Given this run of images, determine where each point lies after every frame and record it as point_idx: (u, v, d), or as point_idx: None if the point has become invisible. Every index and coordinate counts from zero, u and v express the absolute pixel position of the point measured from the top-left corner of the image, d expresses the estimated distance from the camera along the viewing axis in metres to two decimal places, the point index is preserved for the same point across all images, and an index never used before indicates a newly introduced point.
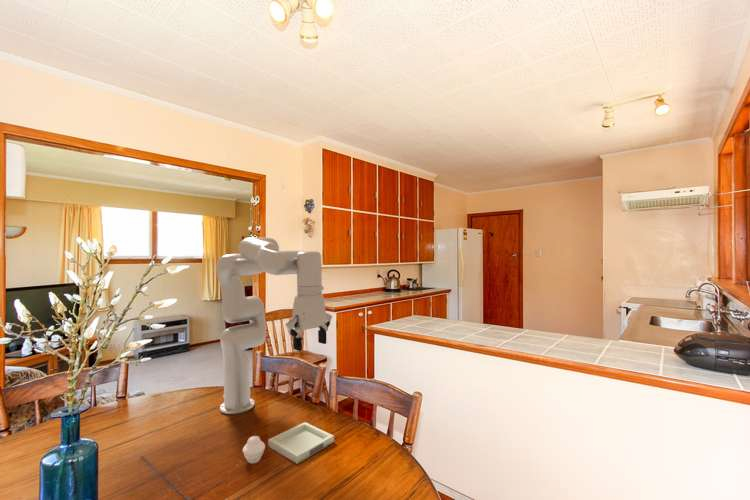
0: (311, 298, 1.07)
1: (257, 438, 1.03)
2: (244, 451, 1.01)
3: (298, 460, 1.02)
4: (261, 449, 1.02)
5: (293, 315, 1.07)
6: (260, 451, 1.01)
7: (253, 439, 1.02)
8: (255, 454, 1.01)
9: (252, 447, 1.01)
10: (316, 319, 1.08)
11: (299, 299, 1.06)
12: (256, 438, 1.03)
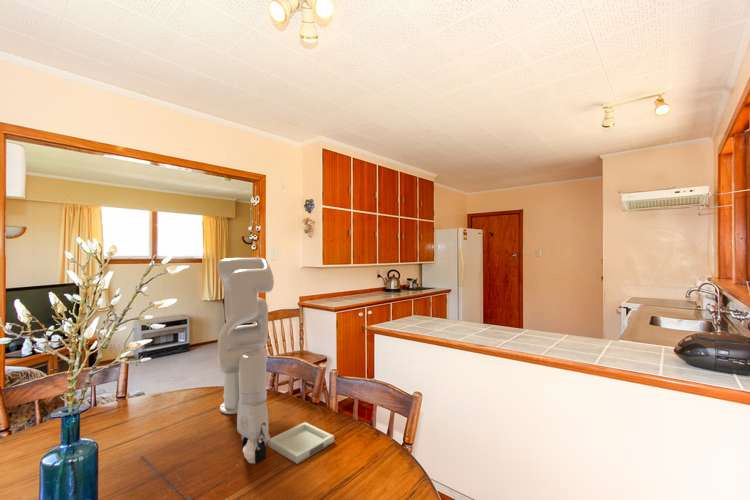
0: None
1: None
2: (244, 451, 1.01)
3: (298, 460, 1.02)
4: None
5: (257, 426, 0.99)
6: None
7: None
8: None
9: (252, 447, 1.01)
10: None
11: (263, 405, 1.01)
12: None
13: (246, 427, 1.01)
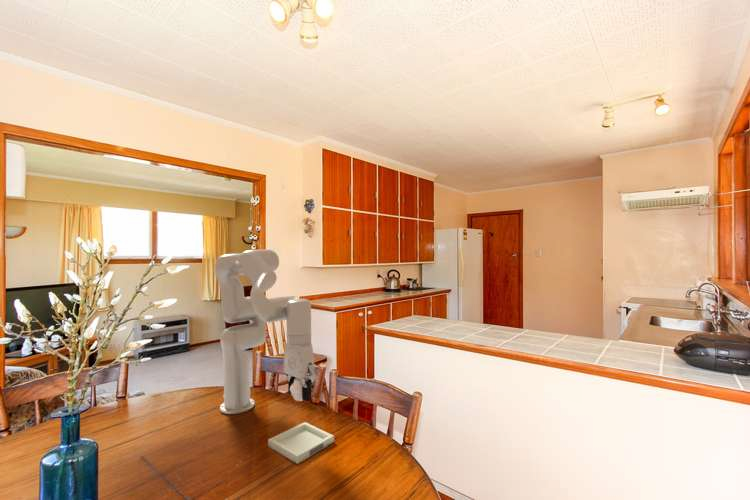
0: None
1: None
2: (291, 389, 1.09)
3: (298, 460, 1.02)
4: None
5: (305, 365, 1.07)
6: None
7: (299, 379, 1.10)
8: None
9: (299, 385, 1.09)
10: None
11: (310, 347, 1.09)
12: None
13: (293, 366, 1.09)
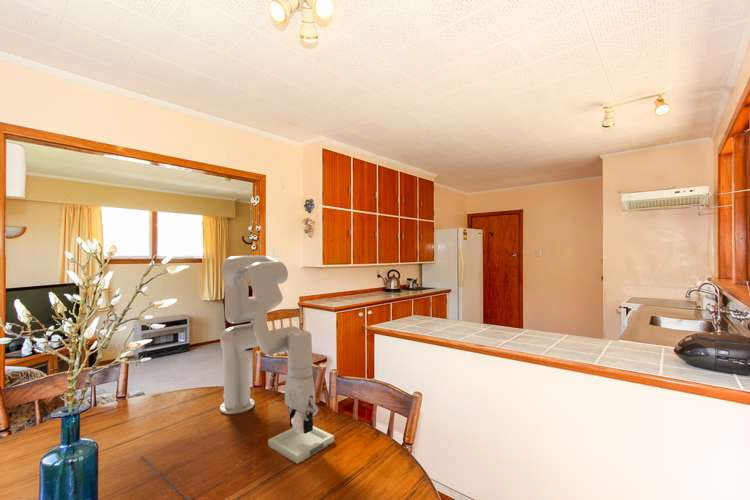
0: None
1: None
2: (293, 422, 1.09)
3: (298, 460, 1.02)
4: None
5: (306, 398, 1.07)
6: None
7: None
8: None
9: (300, 418, 1.09)
10: None
11: (311, 379, 1.09)
12: None
13: (294, 399, 1.09)
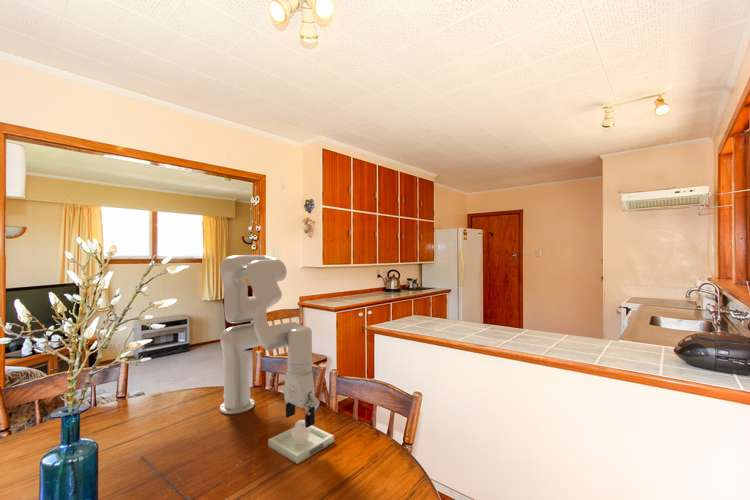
0: None
1: (304, 421, 1.11)
2: (293, 433, 1.09)
3: (298, 460, 1.02)
4: (308, 431, 1.10)
5: (305, 394, 1.07)
6: (308, 433, 1.10)
7: (301, 422, 1.10)
8: (303, 436, 1.09)
9: (300, 429, 1.09)
10: None
11: (310, 375, 1.09)
12: (303, 422, 1.11)
13: (294, 395, 1.09)
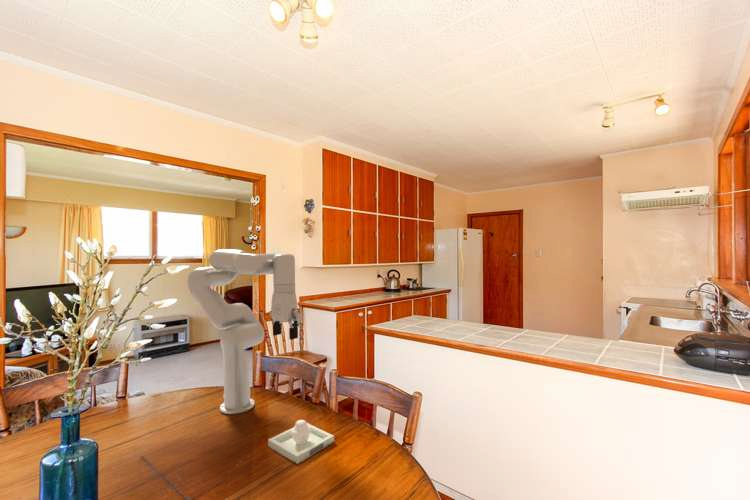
0: None
1: (304, 421, 1.11)
2: (293, 433, 1.09)
3: (298, 460, 1.02)
4: (308, 431, 1.10)
5: (289, 310, 1.22)
6: (308, 433, 1.10)
7: (301, 422, 1.10)
8: (303, 436, 1.09)
9: (300, 429, 1.09)
10: None
11: (293, 295, 1.24)
12: (303, 422, 1.11)
13: (279, 312, 1.24)
